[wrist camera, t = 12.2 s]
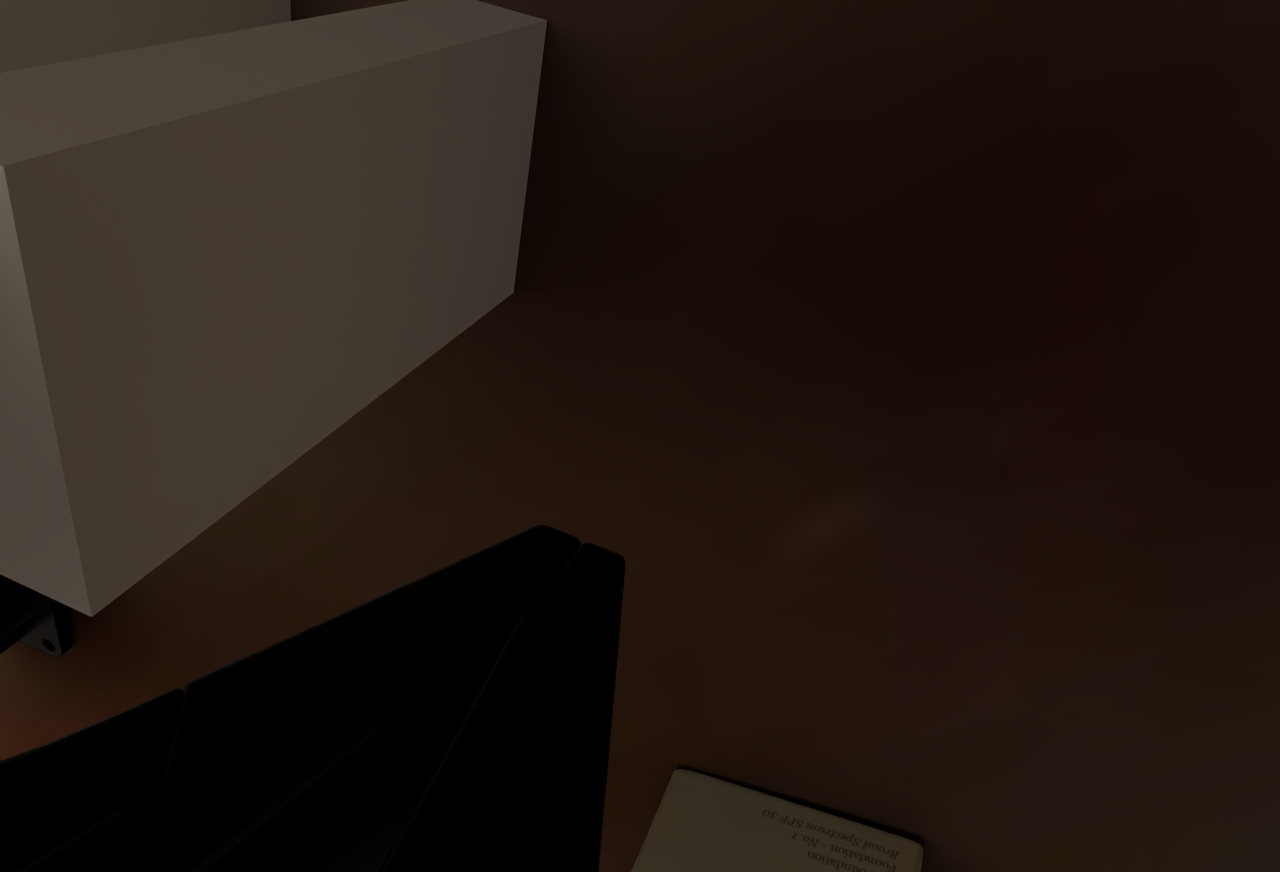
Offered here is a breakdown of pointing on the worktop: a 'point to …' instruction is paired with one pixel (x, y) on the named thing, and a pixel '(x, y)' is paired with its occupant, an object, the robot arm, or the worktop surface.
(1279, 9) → the worktop surface
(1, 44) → the domino
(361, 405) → the domino
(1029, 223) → the worktop surface
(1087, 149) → the worktop surface
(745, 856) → the skincare box
